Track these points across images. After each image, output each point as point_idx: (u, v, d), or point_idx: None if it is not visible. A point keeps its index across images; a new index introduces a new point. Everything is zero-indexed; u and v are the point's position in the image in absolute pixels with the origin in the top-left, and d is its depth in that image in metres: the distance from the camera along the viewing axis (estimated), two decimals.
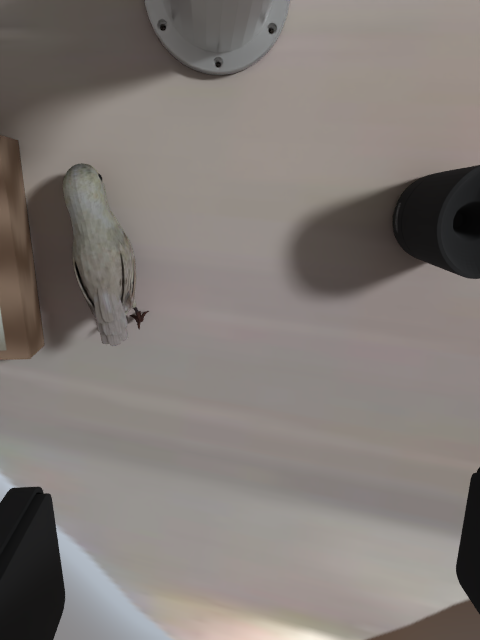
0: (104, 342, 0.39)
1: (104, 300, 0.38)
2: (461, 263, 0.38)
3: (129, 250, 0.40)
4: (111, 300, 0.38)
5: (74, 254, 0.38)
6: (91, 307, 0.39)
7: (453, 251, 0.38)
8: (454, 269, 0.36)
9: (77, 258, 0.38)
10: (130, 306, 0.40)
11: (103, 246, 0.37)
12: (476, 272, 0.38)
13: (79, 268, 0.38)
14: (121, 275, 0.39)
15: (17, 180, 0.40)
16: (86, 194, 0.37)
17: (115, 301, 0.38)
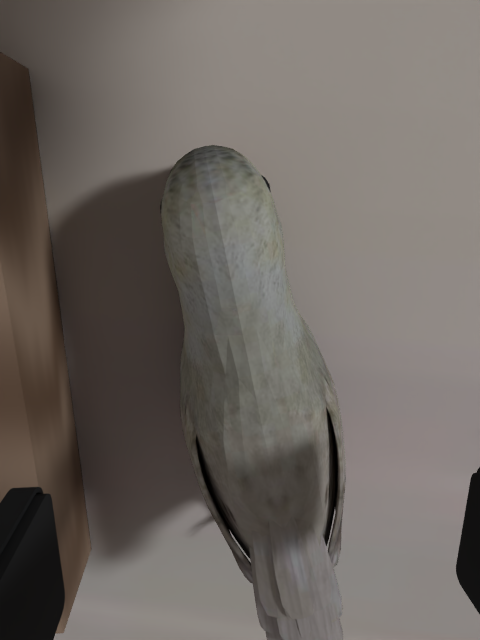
0: None
1: (287, 555, 0.13)
2: None
3: (333, 386, 0.14)
4: (306, 554, 0.13)
5: (196, 420, 0.13)
6: (240, 559, 0.14)
7: None
8: None
9: (206, 438, 0.13)
10: None
11: (295, 407, 0.12)
12: None
13: (211, 460, 0.13)
14: (328, 473, 0.13)
15: (29, 181, 0.14)
16: (249, 250, 0.11)
17: (316, 553, 0.13)
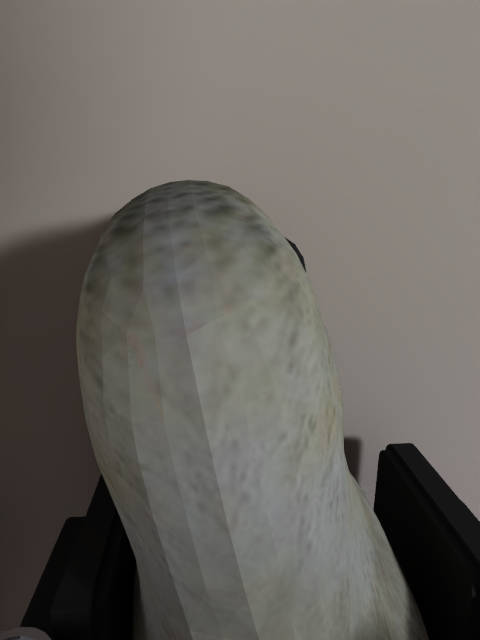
0: None
1: None
2: None
3: (421, 619, 0.08)
4: None
5: None
6: None
7: None
8: None
9: None
10: None
11: None
12: None
13: None
14: None
15: None
16: (276, 450, 0.04)
17: None
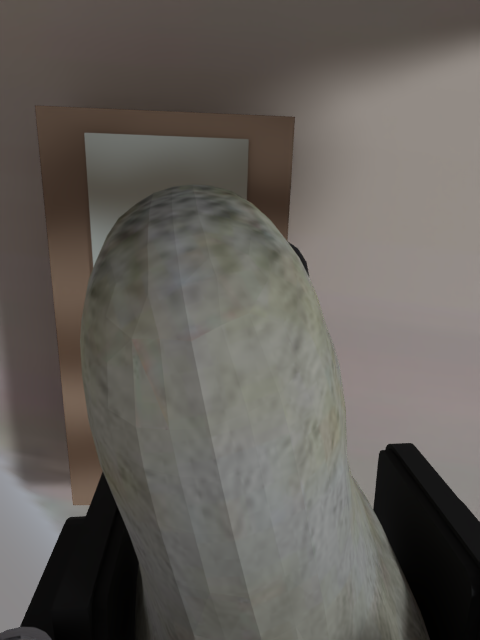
0: None
1: None
2: None
3: (422, 622, 0.08)
4: None
5: None
6: None
7: None
8: None
9: None
10: None
11: None
12: None
13: None
14: None
15: None
16: (280, 456, 0.04)
17: None
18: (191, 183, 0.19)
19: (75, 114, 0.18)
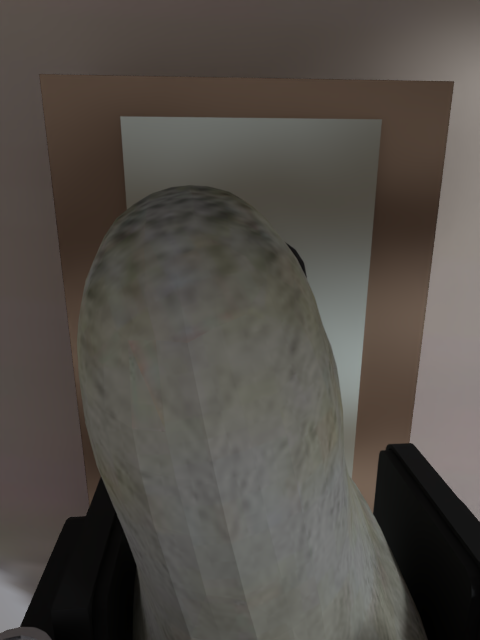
0: None
1: None
2: None
3: (421, 624, 0.08)
4: None
5: None
6: None
7: None
8: None
9: None
10: None
11: None
12: None
13: None
14: None
15: None
16: (276, 458, 0.04)
17: None
18: (289, 192, 0.12)
19: (105, 87, 0.11)
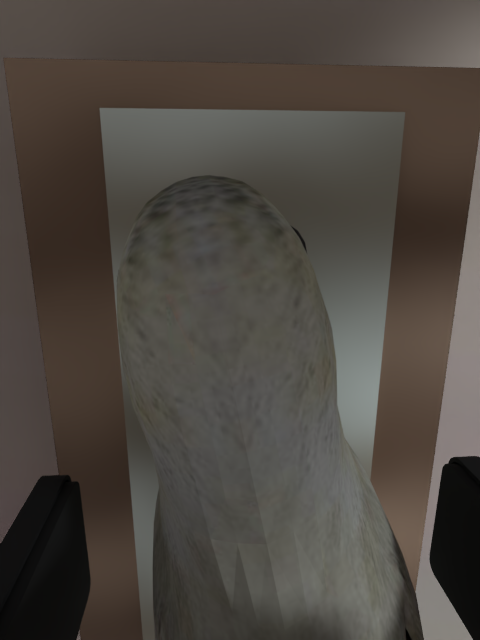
0: None
1: None
2: None
3: (403, 561, 0.09)
4: None
5: None
6: None
7: None
8: None
9: None
10: None
11: None
12: None
13: None
14: None
15: None
16: (283, 387, 0.05)
17: None
18: (297, 197, 0.10)
19: (81, 73, 0.10)
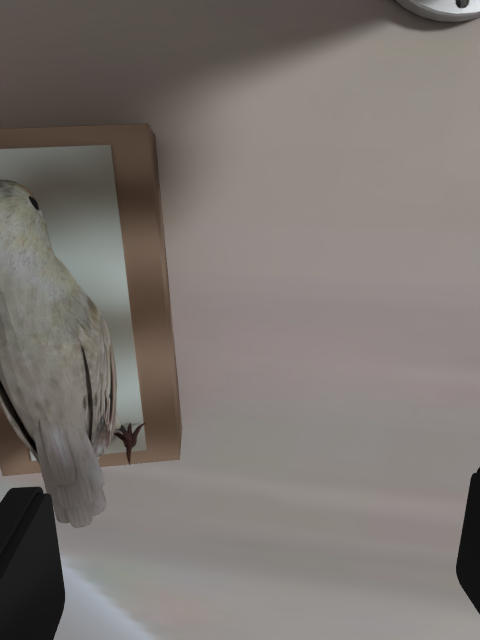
0: (61, 519, 0.20)
1: (55, 443, 0.19)
2: None
3: (100, 334, 0.21)
4: (68, 441, 0.19)
5: None
6: (32, 452, 0.20)
7: None
8: None
9: None
10: (108, 441, 0.21)
11: (45, 340, 0.19)
12: None
13: (2, 382, 0.20)
14: (86, 389, 0.20)
15: (158, 194, 0.26)
16: (0, 241, 0.18)
17: (76, 441, 0.20)
18: (67, 185, 0.23)
19: None
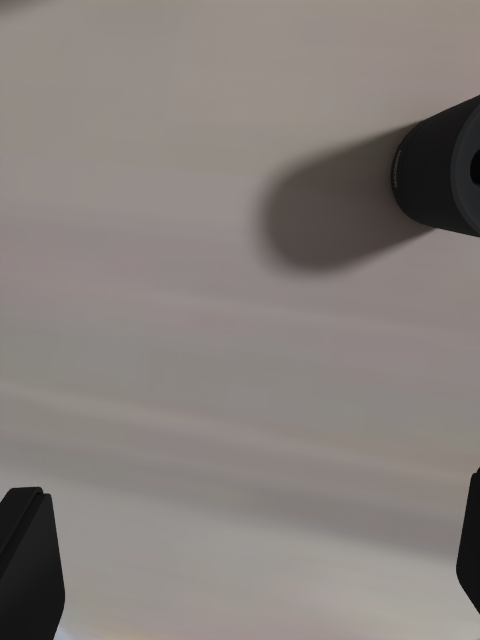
0: None
1: None
2: None
3: None
4: None
5: None
6: None
7: (470, 206, 0.29)
8: (473, 227, 0.27)
9: None
10: None
11: None
12: None
13: None
14: None
15: None
16: None
17: None
18: None
19: None
